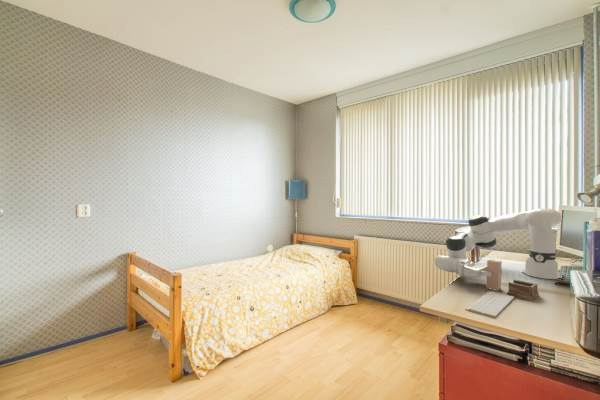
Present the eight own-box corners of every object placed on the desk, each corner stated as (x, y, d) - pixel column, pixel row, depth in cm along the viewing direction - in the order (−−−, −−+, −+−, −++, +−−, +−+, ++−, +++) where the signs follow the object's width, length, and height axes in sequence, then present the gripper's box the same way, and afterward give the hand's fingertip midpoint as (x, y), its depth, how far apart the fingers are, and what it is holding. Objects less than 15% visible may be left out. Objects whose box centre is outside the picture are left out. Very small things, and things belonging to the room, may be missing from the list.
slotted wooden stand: (515, 289, 146) (515, 278, 146) (538, 294, 139) (538, 283, 139) (506, 295, 138) (507, 283, 138) (530, 301, 131) (530, 288, 131)
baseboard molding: (461, 310, 122) (495, 320, 113) (461, 303, 122) (495, 312, 113) (484, 292, 143) (514, 299, 134) (484, 286, 143) (514, 293, 134)
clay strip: (489, 286, 151) (490, 259, 151) (500, 288, 147) (501, 261, 147) (486, 287, 148) (487, 260, 148) (497, 290, 145) (498, 262, 144)
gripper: (473, 269, 164) (502, 275, 154) (457, 276, 152) (487, 282, 141) (473, 258, 164) (502, 263, 153) (457, 264, 151) (488, 269, 141)
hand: (495, 272), depth 147 cm, fingers open, 8 cm apart
